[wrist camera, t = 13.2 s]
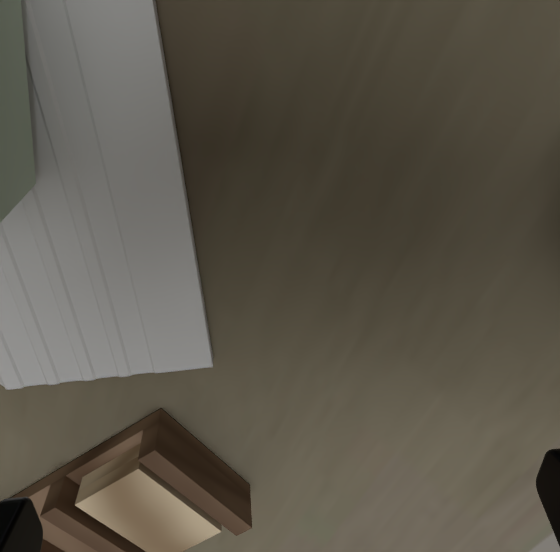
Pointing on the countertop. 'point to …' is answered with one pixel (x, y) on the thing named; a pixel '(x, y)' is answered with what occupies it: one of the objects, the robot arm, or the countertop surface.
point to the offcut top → (146, 510)
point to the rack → (158, 458)
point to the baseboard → (99, 207)
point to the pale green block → (14, 111)
